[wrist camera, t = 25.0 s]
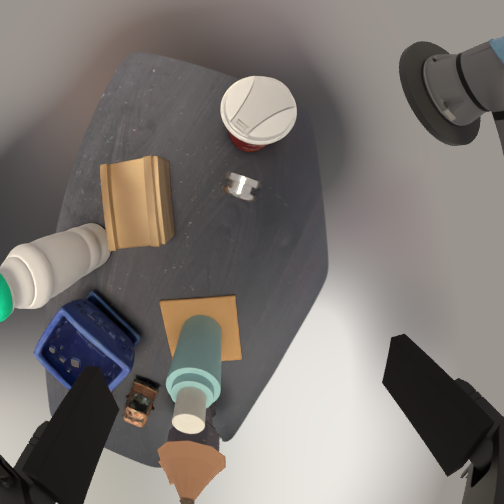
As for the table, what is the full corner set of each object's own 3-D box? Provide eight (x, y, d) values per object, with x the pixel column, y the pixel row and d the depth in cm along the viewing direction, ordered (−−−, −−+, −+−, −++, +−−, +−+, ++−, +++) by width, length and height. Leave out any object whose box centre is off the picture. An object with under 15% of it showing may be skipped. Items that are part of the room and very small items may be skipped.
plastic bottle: (224, 441, 24) (215, 402, 22) (166, 441, 23) (148, 402, 22) (224, 348, 43) (219, 313, 42) (185, 350, 43) (178, 316, 41)
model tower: (162, 392, 45) (131, 526, 16) (191, 359, 44) (168, 517, 15) (202, 414, 47) (196, 544, 18) (235, 384, 46) (247, 533, 17)
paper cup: (252, 169, 38) (265, 158, 24) (211, 137, 36) (203, 109, 23) (286, 131, 37) (315, 104, 23) (246, 99, 35) (256, 57, 22)
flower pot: (94, 278, 39) (58, 304, 28) (151, 332, 42) (132, 373, 31) (62, 324, 40) (30, 354, 29) (113, 371, 43) (92, 410, 31)
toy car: (125, 408, 46) (117, 430, 39) (129, 370, 44) (118, 393, 37) (153, 418, 47) (147, 441, 40) (161, 381, 45) (154, 405, 38)
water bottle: (117, 231, 38) (7, 283, 14) (107, 272, 39) (10, 351, 15) (82, 216, 37) (-35, 249, 13) (73, 256, 38) (-32, 315, 14)
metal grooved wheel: (259, 184, 38) (264, 183, 34) (252, 203, 39) (256, 205, 34) (226, 172, 38) (226, 170, 33) (219, 192, 38) (218, 192, 33)
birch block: (168, 161, 37) (154, 154, 29) (175, 235, 39) (163, 245, 32) (119, 169, 36) (96, 165, 28) (126, 240, 39) (105, 251, 31)
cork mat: (235, 294, 42) (235, 295, 41) (241, 357, 45) (241, 359, 44) (160, 300, 41) (159, 301, 41) (174, 361, 44) (173, 363, 43)
